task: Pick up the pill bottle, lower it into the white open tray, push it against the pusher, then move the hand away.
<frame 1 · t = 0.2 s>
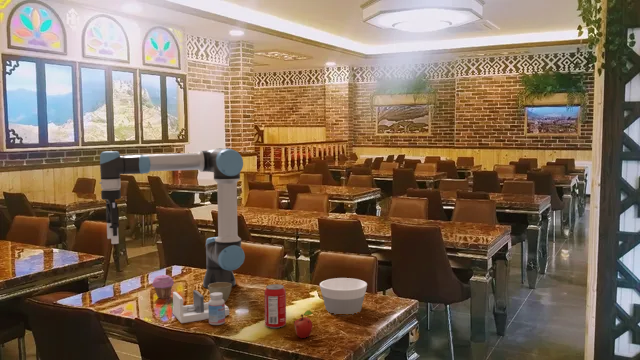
hand: (112, 241, 236), 28 cm above the table, fingers open, 13 cm apart
white open tray: (200, 314, 228), on the table
pill bottle: (217, 323, 218), on the table
flower pot: (220, 301, 247), on the table
apple: (304, 338, 202), on the table
soda can: (275, 326, 214), on the table
pusher: (193, 303, 227), point 5 cm above the table, slide at 0.0 cm
cupcake: (163, 297, 253), on the table
bowl: (343, 310, 233), on the table
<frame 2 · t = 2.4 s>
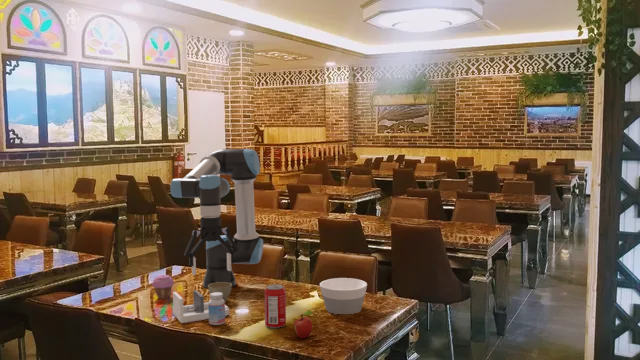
hand: (211, 272, 217), 19 cm above the table, fingers open, 13 cm apart
nothing on the table moved.
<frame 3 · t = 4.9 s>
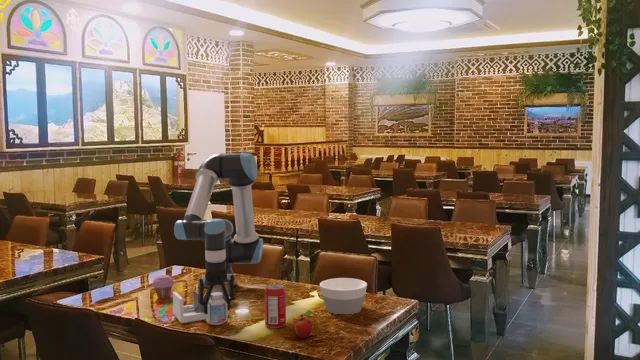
hand: (217, 320, 218), 1 cm above the table, fingers closed on pill bottle, 6 cm apart
pill bottle: (217, 323, 218), on the table, touching gripper
everything else where it was.
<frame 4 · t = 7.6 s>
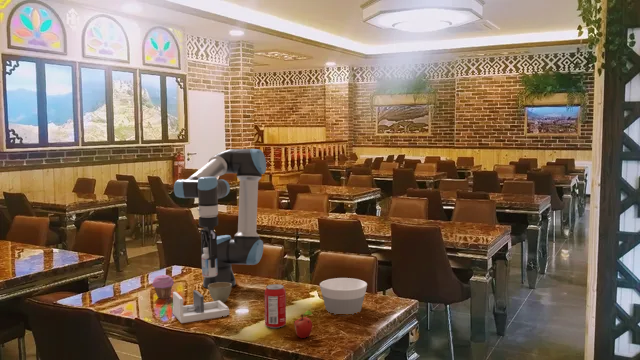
hand: (209, 273, 229), 16 cm above the table, fingers closed on pill bottle, 6 cm apart
pill bottle: (209, 276, 229), point 15 cm above the table, touching gripper
everything else where it was.
when the fingers open (3 cm above the table, at t = 10.2 s): pill bottle drops 1 cm, resting on white open tray.
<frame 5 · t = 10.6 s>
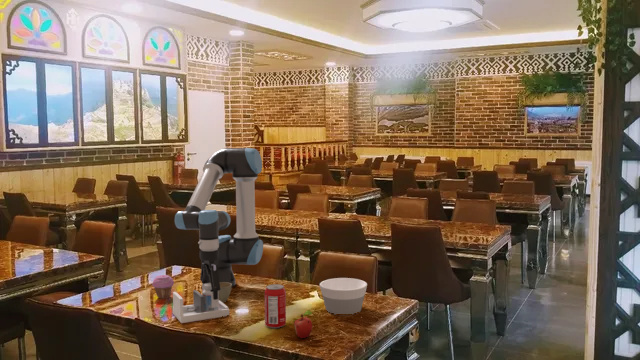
hand: (210, 303, 230), 4 cm above the table, fingers open, 11 cm apart
pill bottle: (210, 312, 230), resting on white open tray
everything else where it was.
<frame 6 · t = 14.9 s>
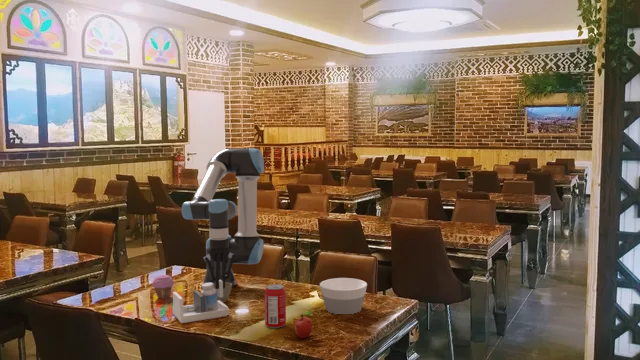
hand: (220, 296, 231), 6 cm above the table, fingers closed
pill bottle: (210, 311, 230), resting on white open tray, touching gripper
everything else where it was.
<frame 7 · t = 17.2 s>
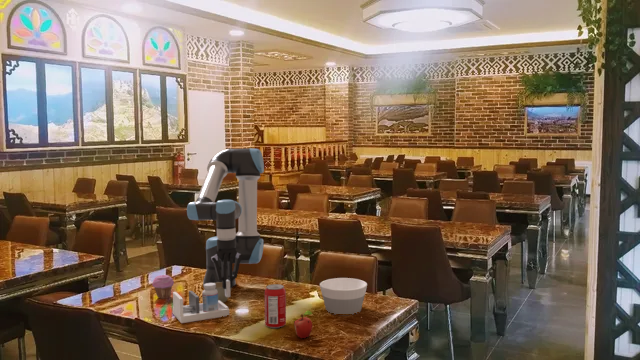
hand: (227, 296, 233), 6 cm above the table, fingers closed
pill bottle: (210, 312, 230), resting on white open tray
pusher: (189, 304, 226), point 5 cm above the table, slide at 1.8 cm
everything else where it was.
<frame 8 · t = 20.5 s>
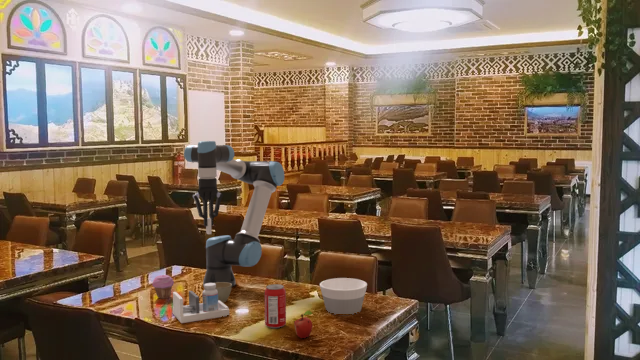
hand: (208, 233, 243), 29 cm above the table, fingers closed
nothing on the table moved.
at the end: pill bottle inside the target area (1.4 cm from its centre), resting on white open tray; pill bottle tilted 0°; the gripper is holding nothing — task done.
